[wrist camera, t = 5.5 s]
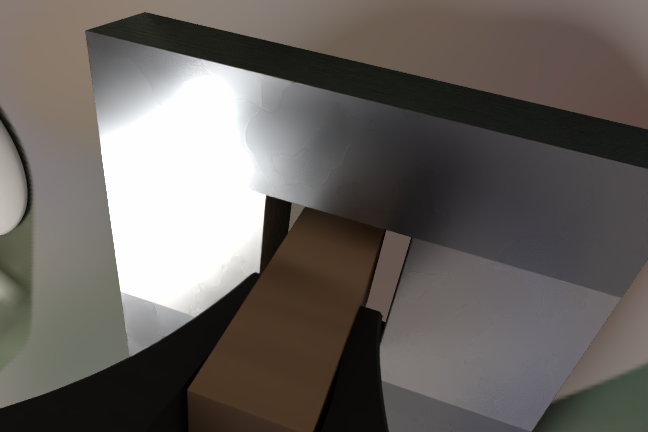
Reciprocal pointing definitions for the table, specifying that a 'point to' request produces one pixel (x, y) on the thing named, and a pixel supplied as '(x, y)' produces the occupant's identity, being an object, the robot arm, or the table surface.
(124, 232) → the square steel tile
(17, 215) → the wineglass
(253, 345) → the brown wooden block
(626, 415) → the table surface
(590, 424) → the table surface
